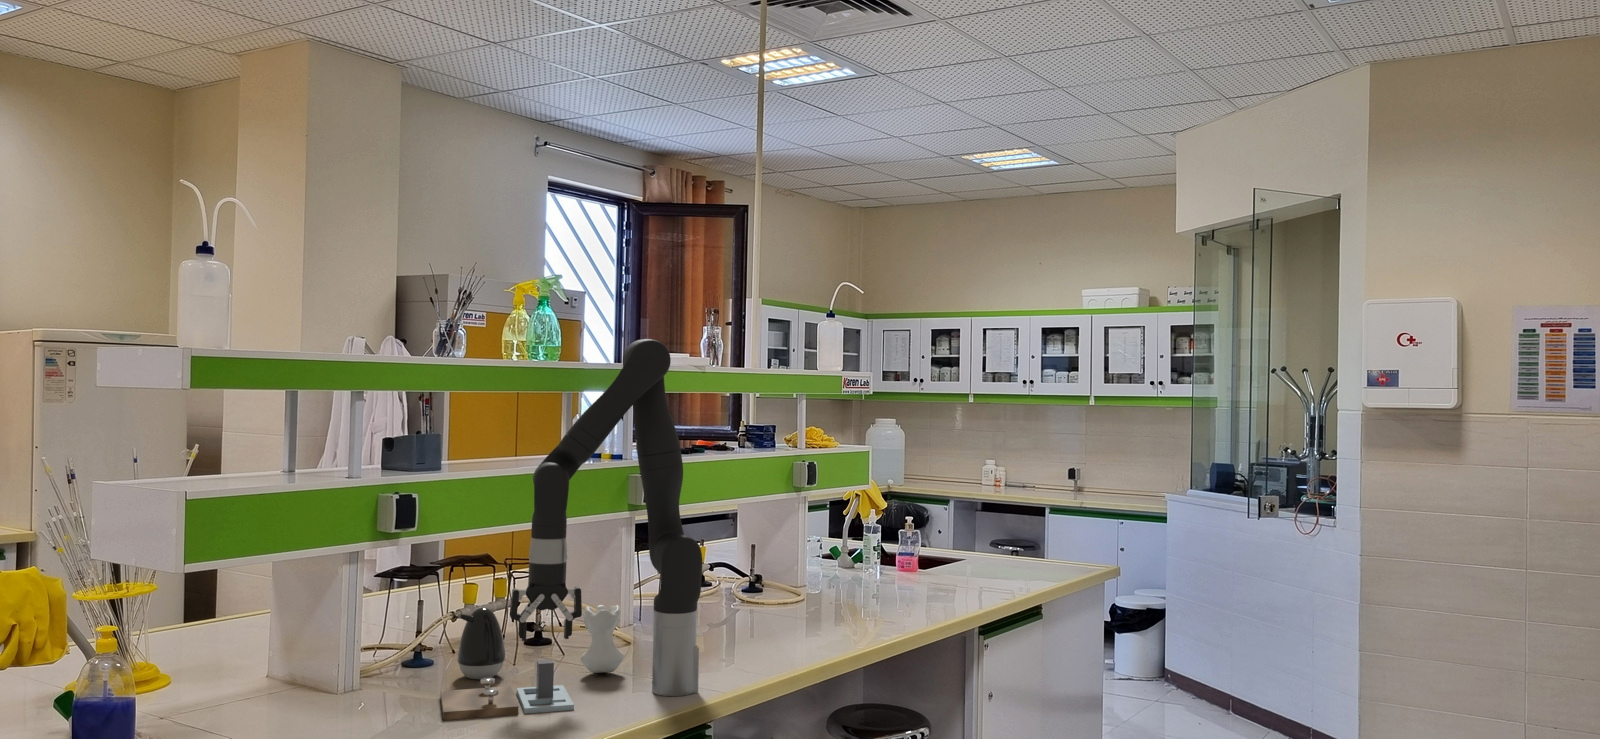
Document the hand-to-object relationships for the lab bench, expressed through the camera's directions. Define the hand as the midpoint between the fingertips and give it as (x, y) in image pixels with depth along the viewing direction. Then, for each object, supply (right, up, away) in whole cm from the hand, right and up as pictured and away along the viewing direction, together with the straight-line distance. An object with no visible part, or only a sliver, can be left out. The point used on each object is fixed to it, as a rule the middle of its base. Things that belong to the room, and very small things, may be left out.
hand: (544, 639), depth 227 cm
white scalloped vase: (+7, -14, +24) cm, 28 cm away
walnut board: (-12, -12, -5) cm, 18 cm away
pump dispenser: (-19, -13, +19) cm, 29 cm away
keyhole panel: (0, -13, 0) cm, 13 cm away
